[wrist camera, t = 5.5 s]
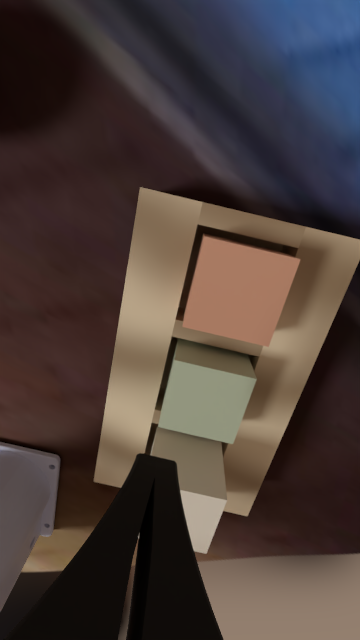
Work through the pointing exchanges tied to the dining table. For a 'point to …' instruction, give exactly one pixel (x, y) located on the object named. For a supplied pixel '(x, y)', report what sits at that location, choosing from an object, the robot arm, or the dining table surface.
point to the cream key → (196, 481)
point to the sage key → (207, 391)
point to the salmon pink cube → (238, 289)
